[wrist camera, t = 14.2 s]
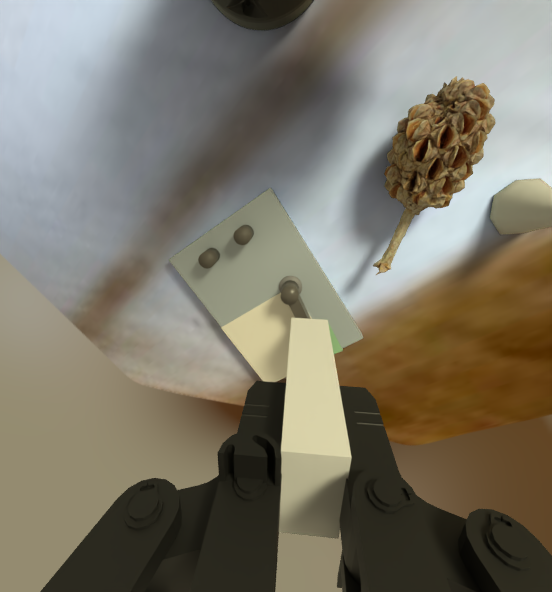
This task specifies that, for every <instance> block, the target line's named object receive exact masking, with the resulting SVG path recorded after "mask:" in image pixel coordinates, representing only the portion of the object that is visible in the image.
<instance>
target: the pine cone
mask: <svg viewBox="0 0 552 592" xmlns="http://www.w3.org/2000/svg"><path fill="white" fill-rule="evenodd" d="M489 93H490V90H489V89H488V87H487V86H486V85H485V84H484V83H482V84H480V85H477V86H475V85H474V81H472V80H469V79H468V80H464V79H463V78H461V79H460V80H459V81H457V76H456V77H455V78H454V79H452V80H451V82H450V84H449V85H448V86H447V84H446V83H444V85H443V88H442V89H441V90H440V91H439V92H438V95H437V96H435V95H434V94H430V95H427V97H426V100H425V103H424V104H419V105H415V106H413V107H412V108H410V109H409V111H408V118H404V119H402V120H401V121H399V122H398V127H397V131H398V134H397V135H395V136H394V137H393V149H392V150H391V151H390V152H388V153H387V159H388V161H389V163H390V164H391V166H388V167H387V168H386V170H385V173H384V174H385V176H386V178H387V181H386V183H385V185H384V186H385V188H386V189H387V190H388V191H389V195H390V196H391V198H396V199H397V200H398V201H400V202H401V203H402V204H403V205H404V207H405V208H406V209H405V210H404V212H403V214H402V217H401V219H400V222H399V224H398V226H397V228H396V230H395V233H394V235H393V237H392V240H391V242H390V244H389V247H388V248H387V250H386V252H385V253H384V255H383V257H382V259H381V260H379V261H377V262H376V263H374V265H373V266H375V267H378V268H379V272H378V273H377V274H379V273H383V272H386V271H387V270H389V269H391V266H390V265H391V263H392V260H393V258H394V256H395V253H396V251H397V249H398V247H399V245H400V243H401V240H402V238H403V237H404V236H405V234H406V231H407V229H408V227H409V225H410V222H411V220H412V219H413V217H414V216H415V215H419V213H420V211H422V210H424V209H425V208H427V207H434V208H443V207H446V206H449V203H450V200H451V198H452V195H453V193H457V192H459V191H461V190H462V189H464V188H465V182H464V180H466V179H467V178H468V177H469V176H471V175H472V174H473V171H472V166H473V165H474V164H477V163H478V162H479V161H480V160H481V159H482V158H483V155H484V154H483V145H484V142H485V141H486V139H487V134H489V133H490V131H491V129H492V128H493V126H494V125H495V119H494V117H493V116H492V115H491V114H489V111H490V109H491V108H492V107H493V105H494V100H495V99H494V98H493V97H492V96H491V95H490V94H489ZM377 274H376V275H377Z"/></svg>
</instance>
